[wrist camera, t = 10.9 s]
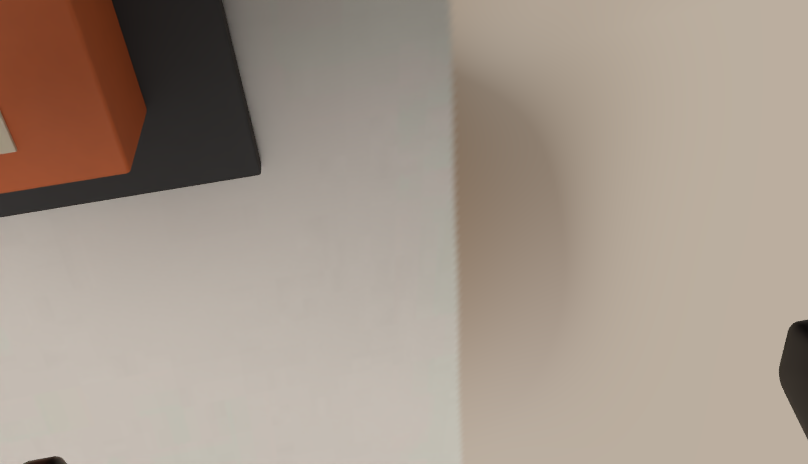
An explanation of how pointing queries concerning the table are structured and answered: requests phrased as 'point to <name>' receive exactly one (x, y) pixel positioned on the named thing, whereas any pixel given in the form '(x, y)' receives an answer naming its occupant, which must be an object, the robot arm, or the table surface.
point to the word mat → (171, 108)
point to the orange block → (65, 94)
